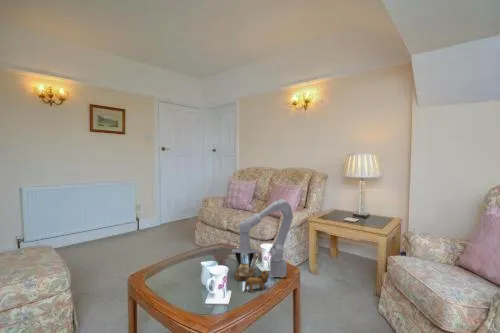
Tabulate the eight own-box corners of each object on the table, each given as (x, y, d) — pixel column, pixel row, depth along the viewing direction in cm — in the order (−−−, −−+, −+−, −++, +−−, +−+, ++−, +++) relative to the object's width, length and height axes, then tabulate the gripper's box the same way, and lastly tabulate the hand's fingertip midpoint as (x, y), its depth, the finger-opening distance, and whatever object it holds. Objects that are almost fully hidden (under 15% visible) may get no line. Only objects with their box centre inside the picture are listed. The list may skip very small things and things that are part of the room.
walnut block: (254, 273, 155) (254, 267, 155) (253, 281, 145) (253, 275, 145) (237, 273, 156) (237, 267, 156) (235, 281, 146) (235, 274, 146)
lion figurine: (265, 284, 141) (265, 267, 141) (271, 288, 136) (270, 271, 136) (241, 291, 134) (240, 273, 134) (245, 295, 129) (245, 278, 129)
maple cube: (249, 272, 149) (249, 263, 149) (248, 276, 144) (248, 267, 144) (240, 272, 149) (240, 263, 149) (239, 276, 144) (239, 267, 144)
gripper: (257, 240, 153) (257, 263, 153) (233, 240, 154) (233, 263, 154) (257, 244, 146) (257, 268, 146) (231, 244, 147) (231, 268, 147)
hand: (244, 266), depth 150 cm, fingers closed on maple cube, 5 cm apart
